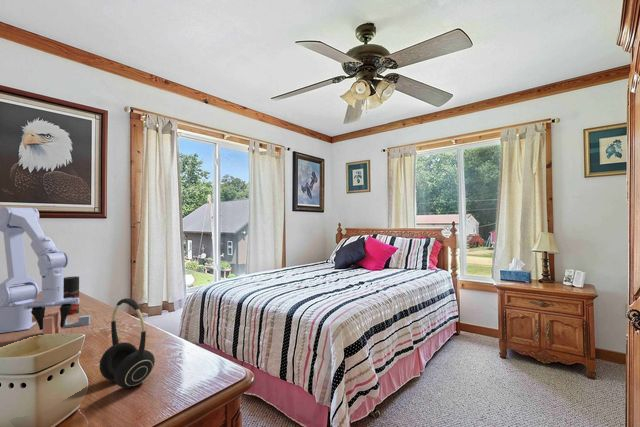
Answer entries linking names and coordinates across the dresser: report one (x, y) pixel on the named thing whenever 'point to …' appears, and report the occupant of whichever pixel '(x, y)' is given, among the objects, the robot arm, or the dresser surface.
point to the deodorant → (71, 292)
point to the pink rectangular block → (52, 323)
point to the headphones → (126, 356)
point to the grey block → (82, 321)
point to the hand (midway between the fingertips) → (52, 327)
